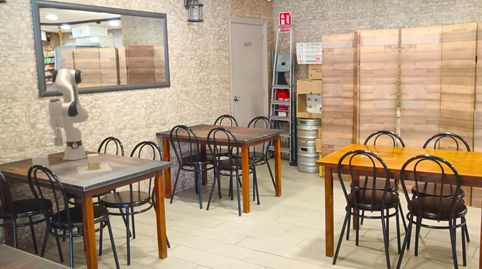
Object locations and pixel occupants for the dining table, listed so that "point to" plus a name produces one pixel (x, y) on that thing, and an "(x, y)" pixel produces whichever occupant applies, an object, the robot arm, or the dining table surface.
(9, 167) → the dining table surface
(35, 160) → the toilet tissue
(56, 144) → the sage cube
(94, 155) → the cream tower block
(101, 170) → the cream square board
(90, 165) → the oak tower block
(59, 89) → the robot arm
